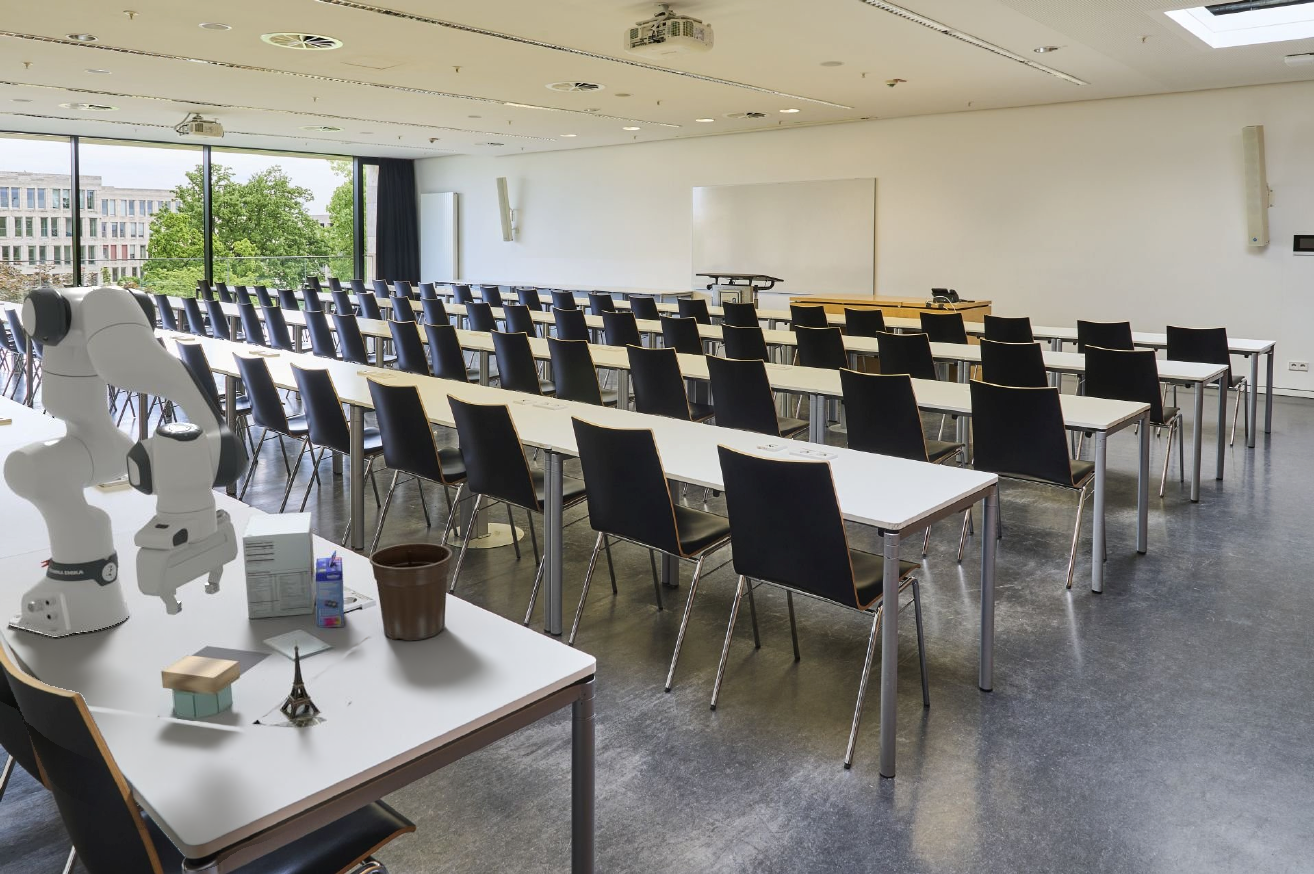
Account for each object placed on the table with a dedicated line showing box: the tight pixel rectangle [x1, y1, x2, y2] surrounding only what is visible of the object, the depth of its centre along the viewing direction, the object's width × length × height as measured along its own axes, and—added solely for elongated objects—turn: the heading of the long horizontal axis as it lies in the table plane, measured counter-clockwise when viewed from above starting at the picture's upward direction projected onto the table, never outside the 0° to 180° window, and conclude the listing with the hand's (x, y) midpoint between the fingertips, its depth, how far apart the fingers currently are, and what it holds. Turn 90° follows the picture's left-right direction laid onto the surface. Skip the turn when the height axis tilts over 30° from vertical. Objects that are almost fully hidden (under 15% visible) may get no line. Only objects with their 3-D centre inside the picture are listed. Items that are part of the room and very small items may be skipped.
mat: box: [190, 645, 272, 676], centre depth 184 cm, size 14×12×1 cm
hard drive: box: [262, 629, 334, 662], centre depth 193 cm, size 2×8×12 cm
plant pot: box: [368, 542, 453, 641], centre depth 201 cm, size 16×16×16 cm
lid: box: [160, 655, 241, 695], centre depth 167 cm, size 10×6×3 cm, turn 77°
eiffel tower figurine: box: [252, 645, 352, 729], centre depth 166 cm, size 15×10×13 cm
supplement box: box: [242, 511, 316, 620], centre depth 214 cm, size 17×13×18 cm
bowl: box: [171, 684, 233, 722], centre depth 168 cm, size 9×9×4 cm
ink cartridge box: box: [315, 550, 345, 629], centre depth 205 cm, size 10×6×14 cm, turn 18°
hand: (194, 602), depth 165 cm, fingers open, 8 cm apart
